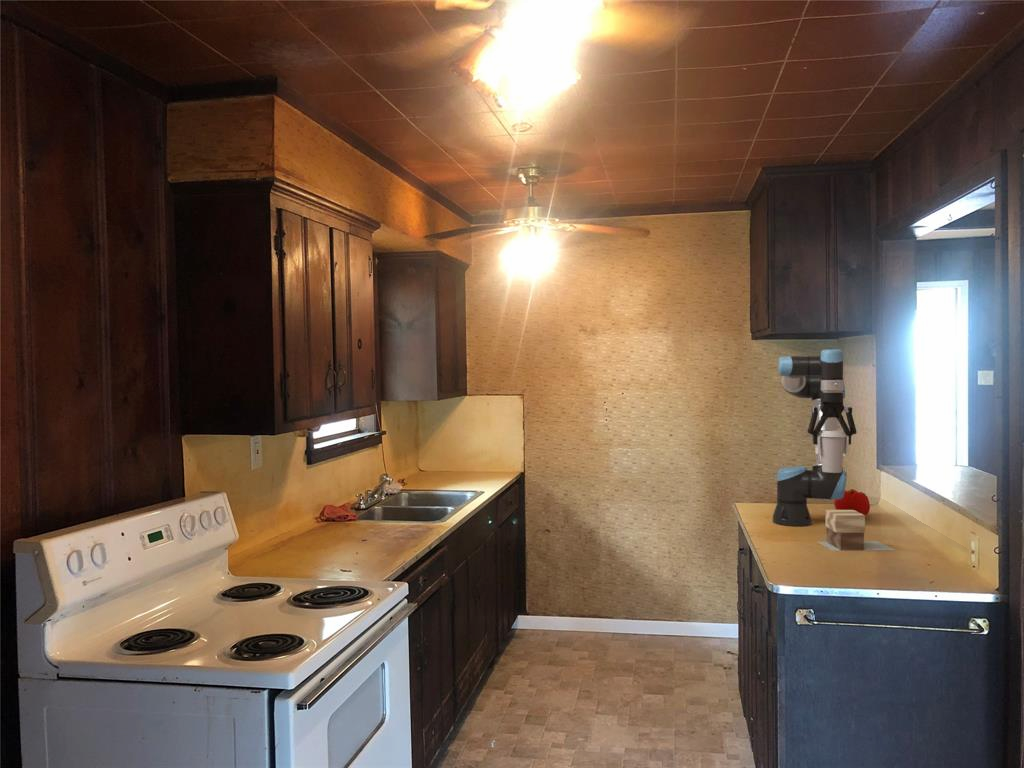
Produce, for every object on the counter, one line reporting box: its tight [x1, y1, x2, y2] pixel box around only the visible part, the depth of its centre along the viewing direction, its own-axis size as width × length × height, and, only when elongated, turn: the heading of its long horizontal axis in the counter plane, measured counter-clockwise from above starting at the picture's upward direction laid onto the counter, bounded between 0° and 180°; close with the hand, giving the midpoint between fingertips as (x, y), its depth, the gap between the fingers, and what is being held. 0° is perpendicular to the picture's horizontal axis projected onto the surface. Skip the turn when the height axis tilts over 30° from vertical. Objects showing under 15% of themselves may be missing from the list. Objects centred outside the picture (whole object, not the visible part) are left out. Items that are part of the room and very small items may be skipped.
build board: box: [817, 540, 896, 552], centre depth 269 cm, size 13×22×1 cm, turn 90°
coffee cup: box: [818, 429, 846, 473], centre depth 274 cm, size 10×10×15 cm
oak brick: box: [825, 509, 866, 534], centre depth 269 cm, size 10×10×6 cm
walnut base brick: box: [826, 527, 865, 551], centre depth 269 cm, size 12×8×6 cm, turn 0°
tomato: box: [834, 489, 871, 517], centre depth 326 cm, size 13×14×12 cm
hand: (831, 453), depth 274 cm, fingers closed on coffee cup, 9 cm apart
